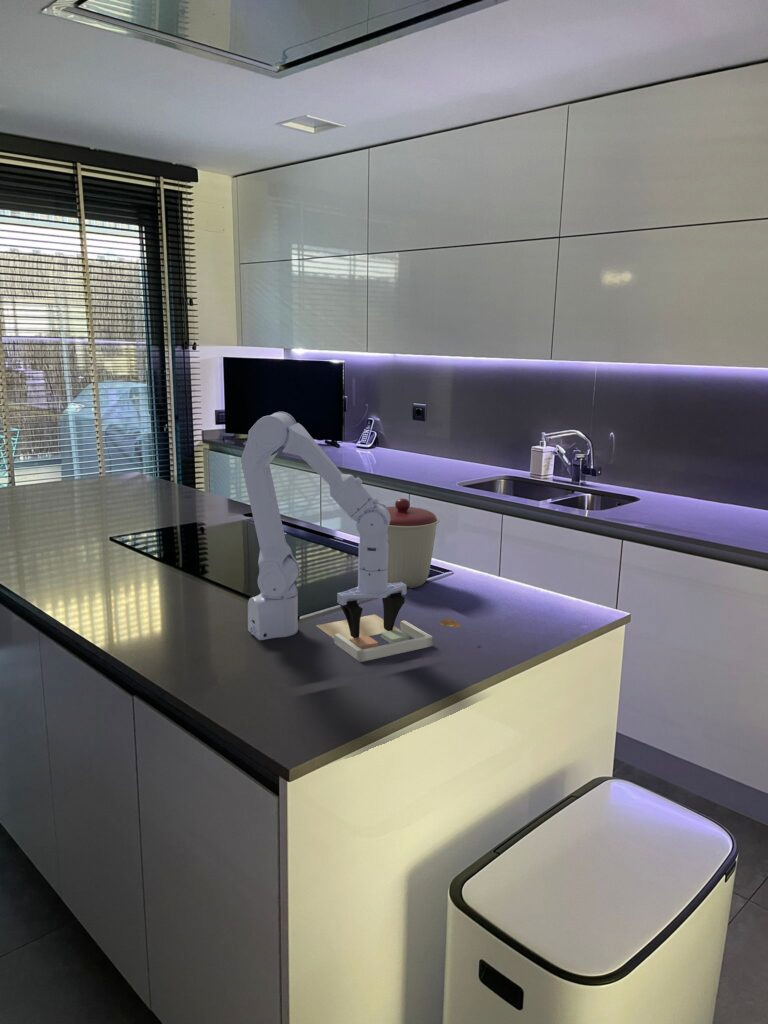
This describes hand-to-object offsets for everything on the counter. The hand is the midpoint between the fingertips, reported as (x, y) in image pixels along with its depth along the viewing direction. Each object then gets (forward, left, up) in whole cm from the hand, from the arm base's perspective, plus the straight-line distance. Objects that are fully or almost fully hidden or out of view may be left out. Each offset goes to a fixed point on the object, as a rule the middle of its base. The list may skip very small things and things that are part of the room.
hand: (371, 633), depth 152 cm
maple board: (0, +6, -2) cm, 6 cm away
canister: (+25, +30, -2) cm, 39 cm away
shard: (+18, +2, -3) cm, 19 cm away
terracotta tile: (-4, -3, -1) cm, 5 cm away
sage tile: (+3, -3, -1) cm, 5 cm away
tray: (0, -4, -2) cm, 4 cm away
